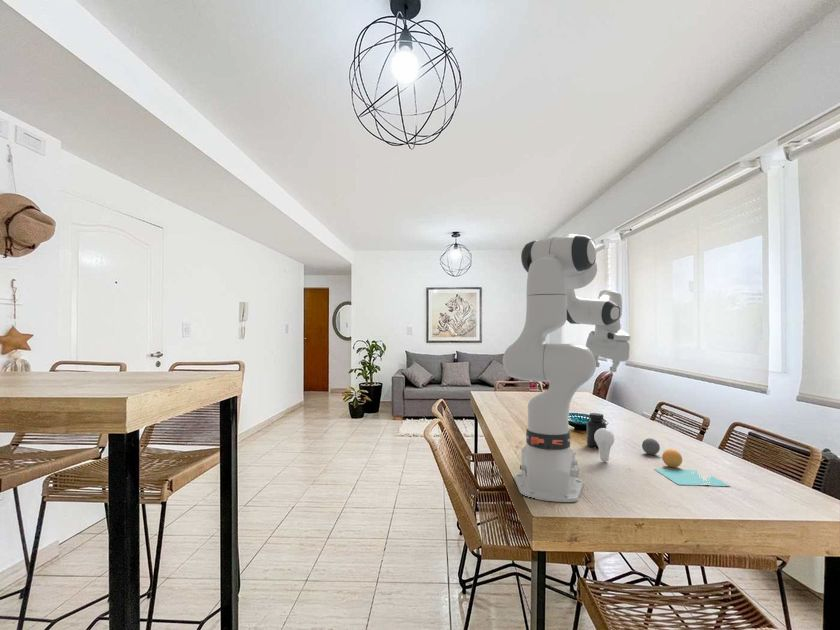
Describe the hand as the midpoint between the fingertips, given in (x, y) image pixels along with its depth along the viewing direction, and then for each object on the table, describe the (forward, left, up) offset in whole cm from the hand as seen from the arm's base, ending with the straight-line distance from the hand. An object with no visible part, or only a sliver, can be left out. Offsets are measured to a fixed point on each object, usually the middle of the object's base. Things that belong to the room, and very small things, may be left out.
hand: (604, 369), depth 162 cm
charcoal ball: (-8, -14, -26) cm, 31 cm away
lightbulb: (-23, +3, -29) cm, 37 cm away
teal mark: (-32, -19, -29) cm, 47 cm away
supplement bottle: (-2, +3, -29) cm, 29 cm away
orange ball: (-22, -17, -26) cm, 38 cm away
